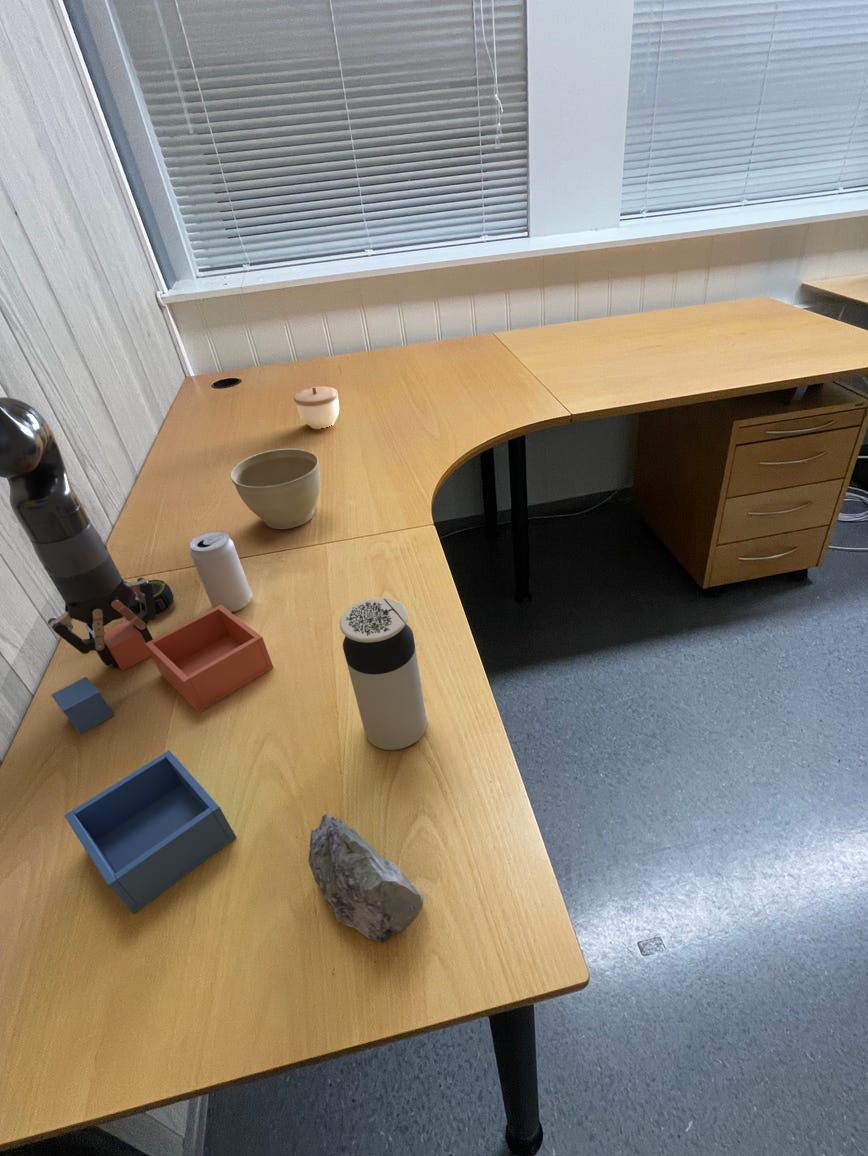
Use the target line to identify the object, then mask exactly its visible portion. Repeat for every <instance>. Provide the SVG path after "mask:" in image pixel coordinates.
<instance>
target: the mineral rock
mask: <svg viewBox="0 0 868 1156" xmlns="http://www.w3.org/2000/svg"><path fill="white" fill-rule="evenodd" d="M309 837H310V838H309V854H308V866H309V867H310V870H311V873H312V875H313V877H314V882H315V883H316V884H317V885H318V886H319V887H320V894H322V895H323V896H324V897H325V898H324V900H325V903H326V904H327V905H328V908H329V910H331V911H332V912H333V913H334V917H335V919H336V921H337V922H338V923H339V924H340V925H343V926H348V927H351V928H354V929H355V930H357V931H358V932H359V933H360V934H362V935H363V936H364V937H366V938H367V939H370V940H373V941H376V942H378V943H384V942H385V941H387V940H388V939H389V938H390V937H391V936H393V935H395V934H397V933H400V932H401V931H403V930H405V929H407V928H408V927H409V926H410V925H411V924H412V923H413V922H414V921H415V920H416V918H417V917H418V916H419V915H420V913H421V911H422V909H423V906H424V896H423V894H422V893H421V892H420V891H419V890H418V889H417V888H416V886H414V885H413V883H411V881H410V880H409V878H408V877H407V875H406V874H405V873H403V871H402V870H401V868H400V867H399V865H397V863H395V862H392V861H391V860H389V859H386V858H385V857H383V856H381V855H379V854H378V853H377V852H376V851H375V849H374V847H372V846H371V845H370V844H369V842H367V841H366V840H364V839H363V838H362V837H361V836H360V834H359V833H358V832H357V831H356V830H355V828H354V829H353V828H351V827H350V826H349V825H348V824H347V822H346V821H344V819H341V818H336V817H334V816H331V815H328V814H323V815H321V820H320V823H319V826H317V827H316V828H315V829H312V830H311V832H310V836H309Z"/></svg>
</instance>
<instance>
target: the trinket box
mask: <svg viewBox="0 0 868 1156" xmlns="http://www.w3.org/2000/svg"><path fill="white" fill-rule="evenodd" d="M293 400H294V403H295V406H296V410H297V412H298V414H299V416H300V419H301V420H302V421H303V422H304V423H305V424H306V425H308V426H309V427H310V428H311V429H313V430H322V429H321V428H324V429H328V428H331V427H333V426H334V425H335V422H336V421H337V419H338V416H339V414H340V401H339V394H338V391H337V389H335V388H333V387H331V386H312V387H309V388H305V389H302V390H300V391H298V392H296V393H295V394H294V396H293ZM331 425H332V426H331ZM329 426H330V427H329ZM326 427H328V428H326ZM324 429H323V430H324Z"/></svg>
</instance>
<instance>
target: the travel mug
mask: <svg viewBox="0 0 868 1156" xmlns="http://www.w3.org/2000/svg"><path fill="white" fill-rule="evenodd" d="M408 620H409V613H408V610H407V608H406V606H404V604H402V603H401V602H400V601H397V600H395V599H392V598H387V597H372V598H367V599H363V600H360V601H357V602H356V603H354V604H352V605H351V606H349V607H348V608H347V609H346V610H345V611H344V612H343V613H342V615H341V616H340V620H339V630H340V631H341V633H342V634H343V635H344V639H343V641H342V650H343V653H344V657H345V661H346V665H347V669H348V673H349V676H350V677H349V678H350V681H351V685H352V688H353V689H352V690H353V692H354V696H355V700H356V704H357V708H358V711H359V716H360V719H361V723H362V727H363V731H364V735H365V738H366V739H367V740H368V742H369V743H370V744H371V745H373V746H374V747H377V748H379V749H383V750H387V751H394V750H395V751H397V750H401V749H405V748H407V747H410V746H412V745H413V744H415V743H417V742H418V741H419V740H420V739H421V738H422V737H423V736H424V734H425V732H426V730H427V726H428V719H427V712H426V707H425V701H424V700H425V699H424V694H423V693H424V692H423V688H422V682H421V674H420V668H419V662H418V656H417V655H418V654H417V648H416V641H415V636H414V632H413V630H412V628H411V626H410V625H408V624H407V623H408Z"/></svg>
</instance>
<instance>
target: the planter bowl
mask: <svg viewBox="0 0 868 1156" xmlns="http://www.w3.org/2000/svg"><path fill="white" fill-rule="evenodd" d="M230 479H231V481H232V484H233V485H234V486H235V489H236V491H237V493H238V495H239V497H240V499H241V500H242V501H243V503H244V504H245V506H246V507H247V508H248V509H249V510H250V511H251V512H252V513H253V514H254V515H256V516H257V517H258V518H260V519H261V520H262V521H263V522H264V523H265V525H266V526H267V527H269V528H271V529H275V530H287V529H294V528H297V527H300V526H302V525H304V524H306V523H308V522H309V521H310V520H311V519H312V518H313V517H314V514H315V509H314V508H315V507H316V505H317V502H318V499H319V497H320V491H321V472H320V461H319V457H318V456H317V455H316V454H315V453H313V452H312V451H309V450H306V449H301V448H300V449H299V448H280V449H272V450H267V451H264V452H260V453H257V454H253V455H251V456H249V457H247V458H245V459H244V460H242V461H240V462H239V463H237V464H236V465H235V466H234V467H233V468H232V470H231V472H230Z"/></svg>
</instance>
